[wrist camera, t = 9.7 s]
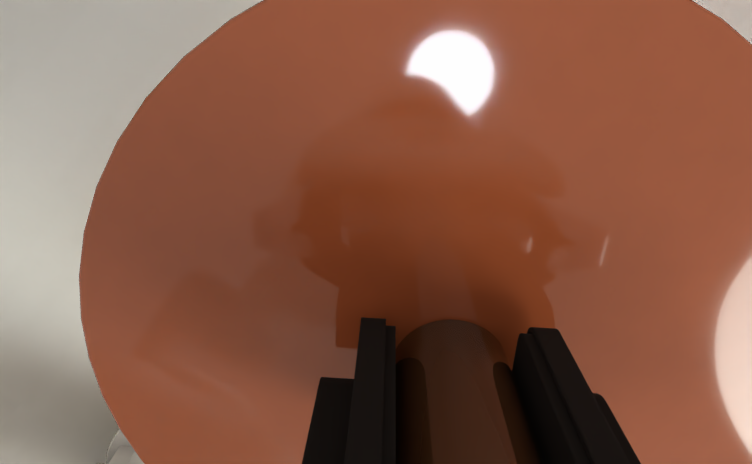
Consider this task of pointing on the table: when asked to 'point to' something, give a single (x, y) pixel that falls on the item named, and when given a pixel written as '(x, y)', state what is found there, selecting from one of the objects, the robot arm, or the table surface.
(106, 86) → the table surface
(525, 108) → the lid
